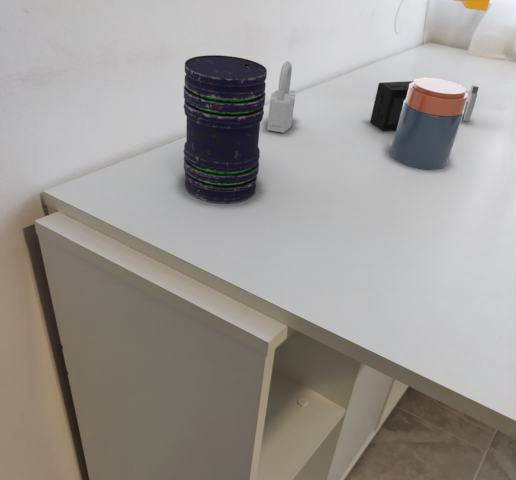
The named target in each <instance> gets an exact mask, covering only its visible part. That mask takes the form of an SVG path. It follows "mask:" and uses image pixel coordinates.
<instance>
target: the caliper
mask: <svg viewBox="0 0 516 480" xmlns="http://www.w3.org/2000/svg"><path fill="white" fill-rule="evenodd" d="M479 89H480V87H479V86H478V85H471V88H470V90H469V89H466V93H467V94H468V98H467V101H466V104H465V107H464V110H463V111H464V114H463V117H462V120H461V121H463V122H470V119H471V117H472V114H473V111H474V107H475V105H476V102H477V98H478V92H479V91H478V90H479Z"/></svg>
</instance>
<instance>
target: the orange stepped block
mask: <svg viewBox="0 0 516 480" xmlns="http://www.w3.org/2000/svg"><path fill="white" fill-rule="evenodd" d="M455 1H457V2H461V4H462V5H463V7H464V8H465V9H468V10H476V11H482V12H483V11H484V12H487V10H488V8H489V5H490V1H491V0H454V2H455Z"/></svg>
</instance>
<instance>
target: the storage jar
mask: <svg viewBox="0 0 516 480" xmlns="http://www.w3.org/2000/svg"><path fill="white" fill-rule="evenodd" d="M184 73H185V75H184V84H183V85H184V86H183V99H184V101H183V102H184V104H183V110H184V116H186V141H185V143H184V146H183V169H184V176H185V178H184V188H185V190H186V192H187V193H188V194H190V195H191V196H192V197H194V198H196V199H199V200H202V201H204V202H209V203H215V204H235V203H241V202H244V201H247V200H249V199H251V198H252V197H253V196H254V195H255V194H256V191H257V183H256V182H257V179H258V174H259V169H260V157H261V153H260V151H261V150H260V147H259V141H260V139H259V138H260V129H261V122H262V121H263V119H264V114H265V111H264V109H265V107H264V106H265V103H266V80H267V73H268V69H267V68H266V66H265V65H263V64H261V63H259V62H257V61H254V60H251V59H247V58H243V57H238V56H231V55H220V54H219V55H218V54H211V55H209V54H207V55H197V56H194V57H191V58H190V57H189V58H188V59H186V60H185V62H184Z"/></svg>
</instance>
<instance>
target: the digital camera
mask: <svg viewBox="0 0 516 480" xmlns="http://www.w3.org/2000/svg"><path fill="white" fill-rule="evenodd" d="M413 81H414V80H410V81H409V80H408V81H386V82H378V85H377V89H376V94H375V98H374V103H373V108H372V112H371V115H370V120H369V121H370V122H369V123H370V124H372V125H373V126H375V127H376V128H378V129H379V130H381V131H382V132H386V131H396V128H397V124H398V120H399V117H400V113H401V109H402V105H403V101H404V100H405V99H406V95H407V91H408V87H409V84H410V83H412V82H413Z"/></svg>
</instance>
